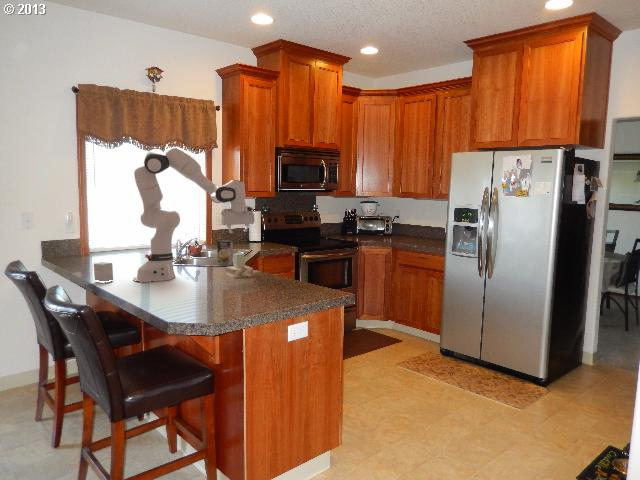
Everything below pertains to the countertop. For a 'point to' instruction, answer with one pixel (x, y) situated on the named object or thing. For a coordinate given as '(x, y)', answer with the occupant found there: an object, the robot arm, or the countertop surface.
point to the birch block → (239, 271)
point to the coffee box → (225, 252)
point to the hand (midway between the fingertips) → (238, 232)
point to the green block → (239, 260)
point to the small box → (103, 271)
